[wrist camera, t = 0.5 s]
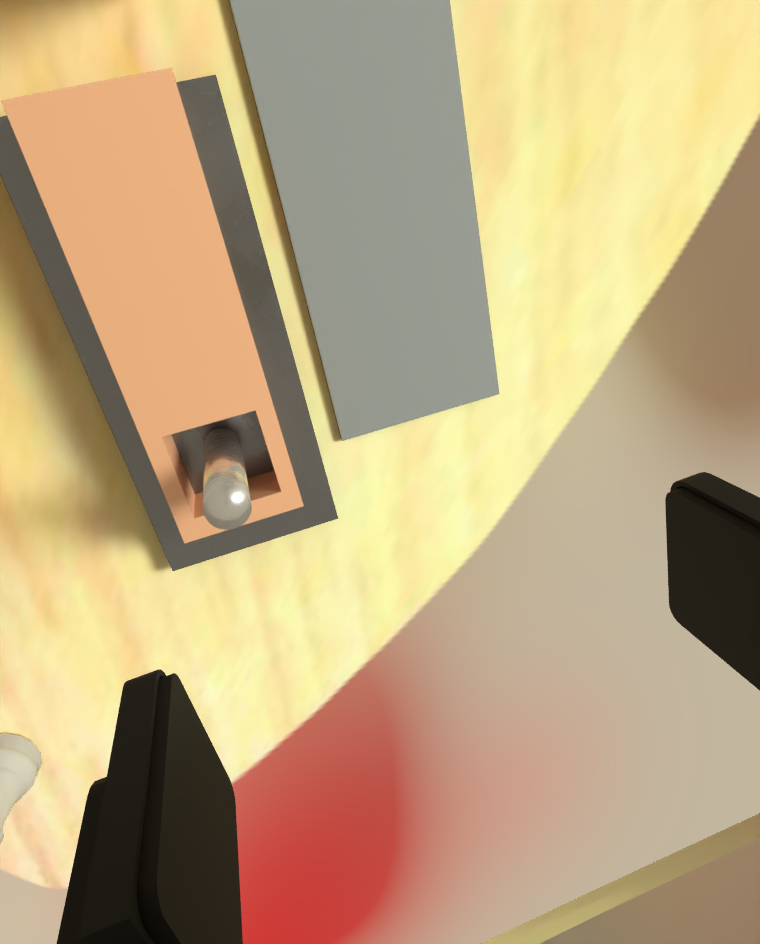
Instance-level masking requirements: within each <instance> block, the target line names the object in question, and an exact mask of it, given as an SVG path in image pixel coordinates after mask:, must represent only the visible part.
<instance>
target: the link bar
mask: <svg viewBox="0 0 760 944" xmlns="http://www.w3.org/2000/svg"><path fill="white" fill-rule="evenodd" d="M1 102H2V104H3V107H4V109H5V112H6V114H7V116H8V119H9V121H10V124H11V126H12V128H13V131H14V133H15V136H16V138H17V140H18V143H19V145H20V148H21V150H22V153H23V155H24V157H25V160H26V162H27V165H28V167H29V169H30V172H31V174H32V177H33V179H34V182H35V184H36V186H37V189H38V191H39V194H40V196H41V198H42V201H43V203H44V206H45V208H46V210H47V213H48V215H49V218H50V220H51V223H52V225H53V227H54V230H55V232H56V235H57V237H58V239H59V242H60V244H61V247H62V249H63V251H64V254H65V256H66V259H67V261H68V264H69V266H70V268H71V271H72V273H73V276H74V278H75V280H76V283H77V285H78V288H79V290H80V292H81V295H82V297H83V300H84V302H85V305H86V307H87V309H88V312H89V314H90V317H91V319H92V321H93V324H94V326H95V329H96V331H97V334H98V336H99V338H100V341H101V343H102V346H103V348H104V350H105V353H106V355H107V358H108V360H109V362H110V365H111V367H112V370H113V372H114V375H115V377H116V379H117V382H118V384H119V387H120V389H121V391H122V394H123V396H124V399H125V401H126V403H127V406H128V408H129V411H130V413H131V416H132V418H133V420H134V423H135V425H136V428H137V430H138V432H139V435H140V437H141V440H142V442H143V444H144V447H145V449H146V452H147V454H148V457H149V459H150V461H151V464H152V466H153V469H154V471H155V473H156V476H157V478H158V481H159V483H160V486H161V488H162V490H163V493H164V495H165V498H166V500H167V502H168V505H169V507H170V510H171V512H172V514H173V517H174V519H175V522H176V524H177V527H178V529H179V531H180V534H181V536H182V539H183V541H184V543H188V542H191V541H194V540H198V539H201V538H204V537H207V536H210V535H213V534H217V533H220V532H223V531H226V530H223V529H219V528H216V527H214V526H212V525H211V524H210V523H209V522H208V521H207V520H206V518H205V516H204V511H203V492H201V493H198V494H194V491H193V489H192V486H191V484H190V481H189V478H188V476H187V473H186V471H185V468H184V466H183V463H182V461H181V458H180V455H179V453H178V450H177V448H176V445H175V443H174V440H173V437H172V435H171V434H174V433H178V432H181V431H185V430H188V429H192V428H196V427H199V426H203V425H206V424H210V423H213V422H217V421H220V420H224V419H227V418H231V417H234V416H238V415H241V414H245V413H248V412H252V411H255V410H256V413H257V416H258V420H259V423H260V426H261V429H262V432H263V435H264V439H265V442H266V445H267V448H268V451H269V454H270V458H271V461H272V464H273V467H274V471H271V472H268V473H264V474H261V475H258V476H254V477H251V478H248V479H247V481H248V487H249V493H250V499H251V505H252V510H251V514H250V517H249V518H248V520H247V521H246V522H245V523H244V524H243V525H245V524H249V523H252V522H255V521H258V520H261V519H265V518H268V517H271V516H274V515H277V514H281V513H284V512H287V511H290V510H293V509H296V508H300V507H303V506H304V505H303V502H302V498H301V495H300V492H299V488H298V485H297V482H296V478H295V475H294V472H293V468H292V465H291V462H290V459H289V455H288V452H287V449H286V445H285V442H284V439H283V435H282V432H281V429H280V425H279V422H278V419H277V415H276V412H275V409H274V405H273V402H272V399H271V396H270V392H269V389H268V386H267V382H266V379H265V376H264V372H263V369H262V366H261V362H260V359H259V356H258V352H257V349H256V346H255V342H254V339H253V336H252V333H251V329H250V326H249V323H248V319H247V316H246V313H245V309H244V306H243V303H242V299H241V296H240V293H239V289H238V286H237V283H236V279H235V276H234V273H233V270H232V266H231V263H230V260H229V256H228V253H227V250H226V246H225V243H224V240H223V236H222V233H221V230H220V226H219V223H218V220H217V216H216V213H215V210H214V207H213V203H212V200H211V197H210V193H209V190H208V187H207V183H206V180H205V177H204V173H203V170H202V167H201V163H200V160H199V157H198V154H197V150H196V147H195V144H194V140H193V137H192V134H191V130H190V127H189V124H188V120H187V117H186V114H185V110H184V107H183V104H182V100H181V97H180V94H179V91H178V87H177V84H176V81H175V77H174V74H173V71H172V68H168V69H163V70H157V71H152V72H147V73H142V74H137V75H131V76H126V77H121V78H116V79H111V80H105V81H100V82H95V83H90V84H85V85H79V86H74V87H69V88H64V89H59V90H53V91H48V92H43V93H38V94H33V95H27V96H22V97H17V98H12V99H7V100H1ZM241 526H242V525H241Z"/></svg>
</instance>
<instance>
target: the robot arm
mask: <svg viewBox="0 0 760 944" xmlns="http://www.w3.org/2000/svg"><path fill="white" fill-rule="evenodd" d="M666 529H667V558H668V586H669V606H670V610H671V612H672V614H673V616H674V618H675V619H676V620H677V621H678V622H679V623H680V624H681V625H682V626H683V627H684V628H686V629H687V630H688V631H689V632H690V633H691V634H693V635H694V636H695V637H696V638H698V639H699V640H700V641H701V642H702V643H703V644H705V645H706V646H707V647H708V648H709V649H711V650H712V651H713V652H714V653H715V654H717V655H718V656H719V657H720V658H721V659H723V660H724V661H725V662H726V663H727V664H729V665H730V666H731V667H732V668H733V669H735V670H736V671H737V672H738V673H739V674H741V675H742V676H743V677H744V678H746V679H747V680H748V681H749V682H750V683H751V684H753V685H754V686H755V687H756V688H757V689H759V690H760V498H759V497H757V496H755V495H753V494H751V493H749V492H747V491H745V490H743V489H741V488H739V487H737V486H734V485H732V484H730V483H728V482H726V481H724V480H722V479H720V478H718V477H716V476H714V475H712V474H709V473H706V472H702V473H698V474H696V475H693V476H690V477H687V478H685V479H682V480H679V481H676V482H675V483H673V485H672V487H671V492H669V493H668V494H667V496H666ZM57 944H243V942H242V923H241V903H240V884H239V864H238V845H237V825H236V805H235V796H234V791H233V787H232V784H231V781H230V779H229V777H228V775H227V773H226V771H225V769H224V767H223V765H222V763H221V761H220V759H219V757H218V755H217V753H216V751H215V749H214V747H213V745H212V743H211V741H210V739H209V737H208V735H207V733H206V731H205V729H204V727H203V725H202V723H201V721H200V719H199V717H198V715H197V713H196V711H195V709H194V707H193V705H192V703H191V701H190V699H189V697H188V695H187V693H186V691H185V689H184V687H183V685H182V683H181V681H180V679H179V677H178V676H177V675H176V674H175V673H174V674H171V675H168V676H166V675H165V673H164V672H163V671H162V670H156V671H153V672H151V673H148V674H145V675H142V676H140V677H137V678H134V679H131V680H129V681H126V682H125V683H124V686H123V691H122V696H121V702H120V707H119V713H118V718H117V724H116V730H115V735H114V741H113V746H112V752H111V757H110V763H109V768H108V774H107V777H105V778H102V779H100V780H97V781H95V782H94V783H93V785H92V786H91V787H90V790H89V793H88V796H87V801H86V806H85V811H84V815H83V820H82V825H81V830H80V835H79V839H78V844H77V849H76V854H75V858H74V863H73V868H72V873H71V878H70V882H69V887H68V892H67V897H66V902H65V907H64V912H63V916H62V921H61V926H60V930H59V935H58V940H57ZM482 944H760V813H759V814H757V815H755V816H753V817H751V818H748V819H746V820H744V821H742V822H740V823H738V824H736V825H733V826H731V827H729V828H727V829H725V830H723V831H720V832H718V833H716V834H714V835H712V836H710V837H707V838H705V839H703V840H701V841H699V842H697V843H695V844H693V845H690V846H688V847H686V848H684V849H682V850H680V851H677V852H675V853H673V854H671V855H669V856H667V857H664V858H662V859H660V860H658V861H656V862H654V863H652V864H650V865H647V866H645V867H643V868H641V869H639V870H637V871H634V872H632V873H630V874H628V875H626V876H624V877H622V878H619V879H617V880H615V881H613V882H611V883H609V884H607V885H605V886H602V887H600V888H598V889H596V890H594V891H592V892H589V893H587V894H585V895H583V896H581V897H579V898H577V899H574V900H573V901H570V902H568V903H566V904H564V905H562V906H560V907H558V908H555V909H553V910H551V911H549V912H547V913H545V914H543V915H541V916H539V917H536V918H535V919H532V920H530V921H528V922H526V923H524V924H522V925H519V926H517V927H515V928H513V929H511V930H509V931H507V932H505V933H503V934H500V935H498V936H496V937H494V938H492V939H490V940H488V941H486V942H483V943H482Z"/></svg>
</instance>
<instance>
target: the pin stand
mask: <svg viewBox="0 0 760 944" xmlns="http://www.w3.org/2000/svg"><path fill="white" fill-rule="evenodd" d="M176 84H177V87H178V91H179V94H180V97H181V100H182V104H183V107H184V110H185V114H186V117H187V120H188V124H189V127H190V130H191V134H192V137H193V140H194V144H195V147H196V150H197V154H198V157H199V160H200V163H201V167H202V170H203V173H204V177H205V180H206V183H207V187H208V190H209V193H210V197H211V200H212V203H213V207H214V210H215V213H216V216H217V220H218V223H219V226H220V230H221V233H222V236H223V240H224V243H225V246H226V250H227V253H228V256H229V260H230V263H231V266H232V270H233V273H234V276H235V279H236V283H237V286H238V289H239V293H240V296H241V299H242V303H243V306H244V309H245V313H246V316H247V319H248V323H249V326H250V329H251V333H252V336H253V339H254V342H255V346H256V349H257V352H258V356H259V359H260V362H261V366H262V369H263V372H264V376H265V379H266V382H267V386H268V389H269V392H270V396H271V399H272V402H273V405H274V409H275V412H276V415H277V419H278V422H279V425H280V429H281V432H282V435H283V439H284V442H285V445H286V449H287V452H288V455H289V459H290V462H291V465H292V468H293V472H294V475H295V478H296V482H297V485H298V488H299V492H300V495H301V498H302V502H303V505H304V506H303V507H300V508H296V509H293V510H290V511H287V512H284V513H281V514H277V515H274V516H271V517H268V518H265V519H261V520H258V521H255V522H252V523H249V524H245V525H243V524H244V523H245V522H246V521H247V520H248V518H249V517H250V514H251V510H252V505H251V499H250V493H249V487H248V481H247V479H248V478H251V477H254V476H258V475H261V474H264V473H268V472H271V471H274V467H273V464H272V461H271V458H270V454H269V451H268V448H267V445H266V442H265V439H264V435H263V432H262V429H261V426H260V423H259V420H258V416H257V413H256V410H255V411H252V412H248V413H245V414H241V415H238V416H234V417H231V418H227V419H224V420H220V421H217V422H213V423H210V424H206V425H203V426H199V427H196V428H192V429H188V430H185V431H181V432H178V433H174V434H171V435H172V437H173V440H174V443H175V445H176V448H177V450H178V453H179V455H180V458H181V461H182V463H183V466H184V468H185V471H186V473H187V476H188V478H189V481H190V484H191V486H192V489H193V491H194V494H198V493H201V492H203V511H204V516H205V518H206V520H207V521H208V522H209V523H210V524H211V525H212V526H214V527H216V528H219V529H223V530H226V531H223V532H220V533H217V534H213V535H210V536H207V537H204V538H201V539H198V540H194V541H191V542H188V543H184V541H183V539H182V536H181V534H180V531H179V529H178V527H177V524H176V522H175V519H174V517H173V514H172V512H171V510H170V507H169V505H168V502H167V500H166V498H165V495H164V493H163V490H162V488H161V486H160V483H159V481H158V478H157V476H156V473H155V471H154V469H153V466H152V464H151V461H150V459H149V457H148V454H147V452H146V449H145V447H144V444H143V442H142V440H141V437H140V435H139V432H138V430H137V428H136V425H135V423H134V420H133V418H132V416H131V413H130V411H129V408H128V406H127V403H126V401H125V399H124V396H123V394H122V391H121V389H120V387H119V384H118V382H117V379H116V377H115V375H114V372H113V370H112V367H111V365H110V362H109V360H108V358H107V355H106V353H105V350H104V348H103V346H102V343H101V341H100V338H99V336H98V334H97V331H96V329H95V326H94V324H93V321H92V319H91V317H90V314H89V312H88V309H87V307H86V305H85V302H84V300H83V297H82V295H81V292H80V290H79V288H78V285H77V283H76V280H75V278H74V276H73V273H72V271H71V268H70V266H69V264H68V261H67V259H66V256H65V254H64V251H63V249H62V247H61V244H60V242H59V239H58V237H57V235H56V232H55V230H54V227H53V225H52V223H51V220H50V218H49V215H48V213H47V210H46V208H45V206H44V203H43V201H42V198H41V196H40V194H39V191H38V189H37V186H36V184H35V182H34V179H33V177H32V174H31V172H30V169H29V167H28V165H27V162H26V160H25V157H24V155H23V153H22V150H21V148H20V145H19V143H18V140H17V138H16V136H15V133H14V131H13V128H12V126H11V124H10V121H9V119H8V116H3V117H0V175H1V177H2V180H3V182H4V184H5V186H6V189H7V191H8V193H9V196H10V198H11V200H12V203H13V205H14V207H15V209H16V212H17V214H18V216H19V219H20V221H21V223H22V226H23V228H24V230H25V232H26V235H27V237H28V239H29V242H30V244H31V246H32V249H33V251H34V253H35V255H36V258H37V260H38V262H39V265H40V267H41V269H42V272H43V274H44V276H45V278H46V281H47V283H48V285H49V288H50V290H51V292H52V295H53V297H54V299H55V301H56V304H57V306H58V308H59V311H60V313H61V315H62V318H63V320H64V322H65V324H66V327H67V329H68V331H69V334H70V336H71V338H72V341H73V343H74V345H75V347H76V350H77V352H78V354H79V357H80V359H81V361H82V364H83V366H84V368H85V370H86V373H87V375H88V377H89V380H90V382H91V384H92V386H93V389H94V391H95V393H96V396H97V398H98V400H99V403H100V405H101V407H102V409H103V412H104V414H105V416H106V419H107V421H108V423H109V426H110V428H111V430H112V432H113V435H114V437H115V439H116V442H117V444H118V446H119V449H120V451H121V453H122V455H123V458H124V460H125V462H126V465H127V467H128V469H129V472H130V474H131V476H132V478H133V481H134V483H135V485H136V488H137V490H138V492H139V495H140V497H141V499H142V501H143V504H144V506H145V508H146V511H147V513H148V515H149V518H150V520H151V522H152V524H153V527H154V529H155V531H156V534H157V536H158V538H159V541H160V543H161V545H162V547H163V550H164V552H165V554H166V557H167V559H168V561H169V564H170V566H171V568H172V570H173V571H175V570H178V569H181V568H184V567H188V566H191V565H194V564H197V563H200V562H203V561H206V560H209V559H213V558H216V557H219V556H222V555H225V554H228V553H231V552H234V551H238V550H241V549H244V548H247V547H250V546H253V545H256V544H260V543H263V542H266V541H269V540H272V539H275V538H278V537H281V536H285V535H288V534H291V533H294V532H297V531H300V530H303V529H307V528H310V527H313V526H316V525H319V524H322V523H325V522H328V521H332V520H335V519H338V516H337V513H336V509H335V505H334V502H333V498H332V495H331V491H330V487H329V484H328V480H327V476H326V473H325V469H324V466H323V462H322V458H321V455H320V451H319V447H318V444H317V440H316V437H315V433H314V429H313V426H312V422H311V418H310V415H309V411H308V408H307V404H306V400H305V397H304V393H303V389H302V386H301V382H300V379H299V375H298V371H297V368H296V364H295V360H294V357H293V353H292V350H291V346H290V342H289V339H288V335H287V331H286V328H285V324H284V321H283V317H282V313H281V310H280V306H279V302H278V299H277V295H276V292H275V288H274V284H273V281H272V277H271V273H270V270H269V266H268V263H267V259H266V255H265V252H264V248H263V244H262V241H261V237H260V234H259V230H258V226H257V223H256V219H255V215H254V212H253V208H252V205H251V201H250V197H249V194H248V190H247V186H246V183H245V179H244V176H243V172H242V168H241V165H240V161H239V157H238V154H237V150H236V147H235V143H234V139H233V136H232V132H231V128H230V125H229V121H228V118H227V114H226V110H225V107H224V103H223V99H222V96H221V92H220V89H219V85H218V81H217V78H216V75H212V76H207V77H202V78H197V79H192V80H187V81H182V82H176ZM241 525H242V526H241Z"/></svg>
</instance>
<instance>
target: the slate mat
mask: <svg viewBox="0 0 760 944" xmlns="http://www.w3.org/2000/svg"><path fill="white" fill-rule="evenodd" d="M229 2H230V6H231V10H232V14H233V18H234V22H235V25H236V29H237V33H238V37H239V41H240V45H241V49H242V53H243V57H244V61H245V65H246V68H247V72H248V76H249V80H250V84H251V88H252V92H253V96H254V100H255V104H256V108H257V111H258V115H259V119H260V123H261V127H262V131H263V135H264V139H265V143H266V147H267V151H268V154H269V158H270V162H271V166H272V170H273V174H274V178H275V182H276V186H277V190H278V193H279V197H280V201H281V205H282V209H283V213H284V217H285V221H286V225H287V229H288V233H289V236H290V240H291V244H292V248H293V252H294V256H295V260H296V264H297V268H298V272H299V276H300V279H301V283H302V287H303V291H304V295H305V299H306V303H307V307H308V311H309V315H310V319H311V322H312V326H313V330H314V334H315V338H316V342H317V346H318V350H319V354H320V358H321V362H322V365H323V369H324V373H325V377H326V381H327V385H328V389H329V393H330V397H331V401H332V405H333V408H334V412H335V416H336V420H337V424H338V428H339V432H340V436H341V439H342V441H343V440H347V439H350V438H353V437H357V436H360V435H364V434H367V433H370V432H374V431H377V430H380V429H384V428H387V427H390V426H394V425H397V424H400V423H404V422H407V421H410V420H414V419H417V418H420V417H424V416H427V415H430V414H434V413H437V412H440V411H444V410H447V409H450V408H454V407H457V406H460V405H464V404H467V403H470V402H474V401H477V400H480V399H484V398H487V397H491V396H494V395H497V394H499V387H498V380H497V372H496V364H495V356H494V348H493V340H492V332H491V324H490V316H489V308H488V300H487V292H486V284H485V277H484V269H483V261H482V253H481V245H480V237H479V229H478V221H477V213H476V205H475V197H474V189H473V181H472V173H471V166H470V158H469V150H468V142H467V134H466V126H465V118H464V110H463V102H462V94H461V86H460V78H459V70H458V63H457V55H456V47H455V39H454V31H453V23H452V15H451V7H450V0H229Z"/></svg>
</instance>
